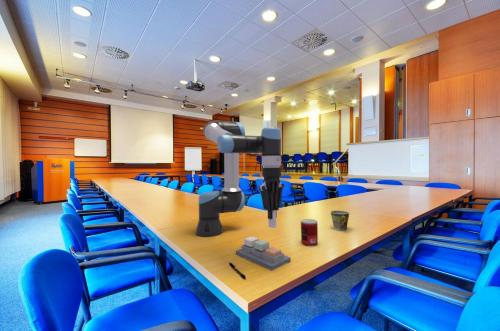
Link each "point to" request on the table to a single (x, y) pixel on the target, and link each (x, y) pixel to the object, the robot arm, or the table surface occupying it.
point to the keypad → (262, 257)
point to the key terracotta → (273, 252)
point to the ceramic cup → (340, 220)
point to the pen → (237, 271)
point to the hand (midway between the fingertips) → (272, 226)
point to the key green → (261, 245)
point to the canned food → (309, 232)
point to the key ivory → (250, 241)
